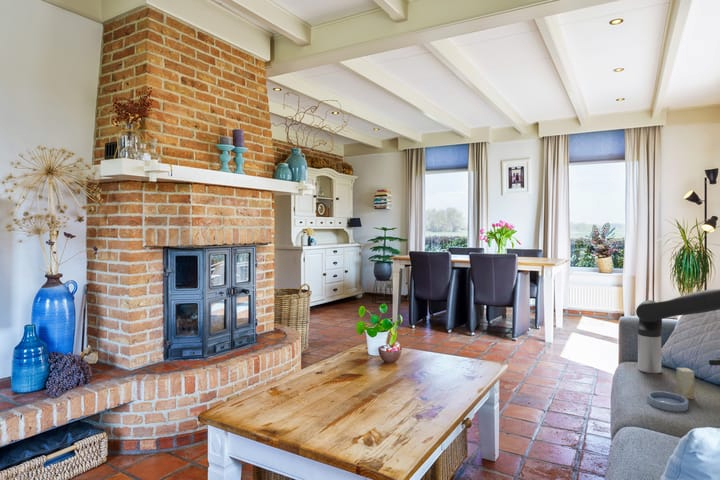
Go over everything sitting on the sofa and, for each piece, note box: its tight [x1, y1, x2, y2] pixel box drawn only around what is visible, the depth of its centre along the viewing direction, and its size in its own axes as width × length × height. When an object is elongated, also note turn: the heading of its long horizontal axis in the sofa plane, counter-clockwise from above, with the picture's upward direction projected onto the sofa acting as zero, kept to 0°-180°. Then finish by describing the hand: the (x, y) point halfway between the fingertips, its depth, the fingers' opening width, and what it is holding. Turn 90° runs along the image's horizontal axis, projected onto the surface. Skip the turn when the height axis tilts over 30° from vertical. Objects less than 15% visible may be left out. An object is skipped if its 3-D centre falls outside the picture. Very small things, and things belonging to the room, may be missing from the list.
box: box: [676, 367, 696, 400], centre depth 176 cm, size 5×4×11 cm
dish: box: [646, 390, 689, 412], centre depth 170 cm, size 13×13×2 cm
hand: (716, 366), depth 174 cm, fingers open, 8 cm apart
